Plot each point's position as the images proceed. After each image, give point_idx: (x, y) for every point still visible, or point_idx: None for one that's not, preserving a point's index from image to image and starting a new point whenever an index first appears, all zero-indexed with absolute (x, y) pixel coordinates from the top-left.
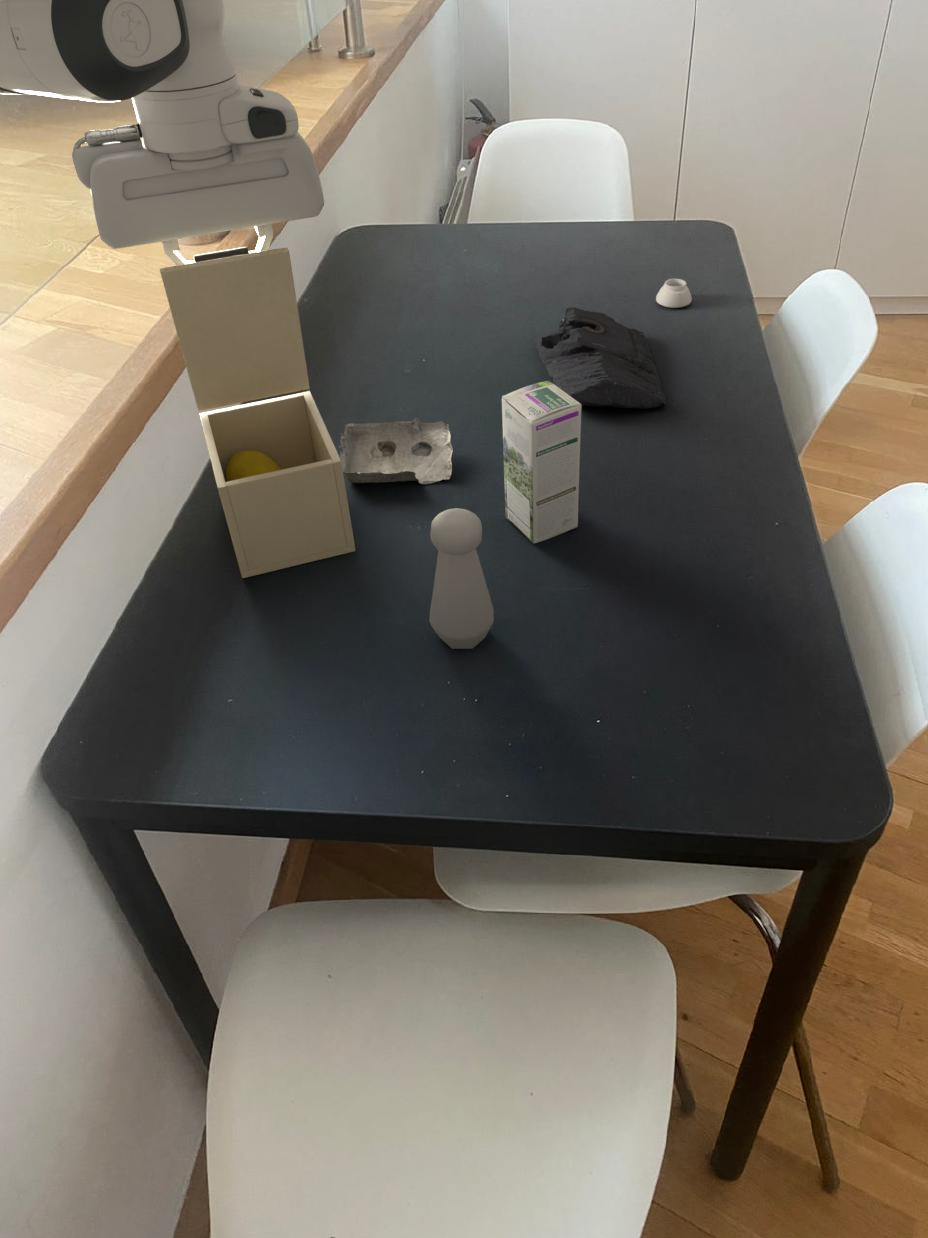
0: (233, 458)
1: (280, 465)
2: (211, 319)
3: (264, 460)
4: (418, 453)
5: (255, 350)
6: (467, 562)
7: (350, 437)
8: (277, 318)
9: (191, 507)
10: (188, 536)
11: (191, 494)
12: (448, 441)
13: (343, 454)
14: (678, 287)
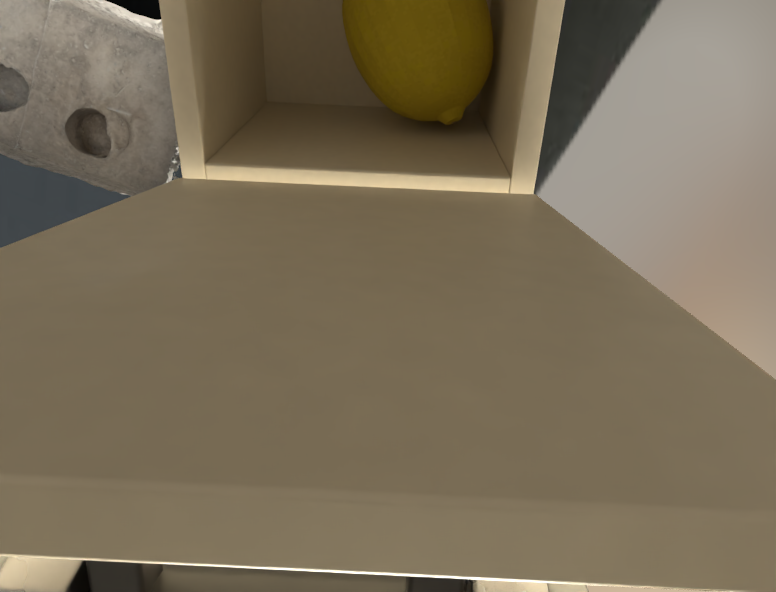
0: (465, 73)
1: (344, 116)
2: (461, 283)
3: (385, 23)
4: (19, 91)
5: (293, 222)
6: None
7: None
8: (119, 248)
9: (561, 126)
10: (602, 8)
11: (546, 177)
12: None
13: None
14: None
